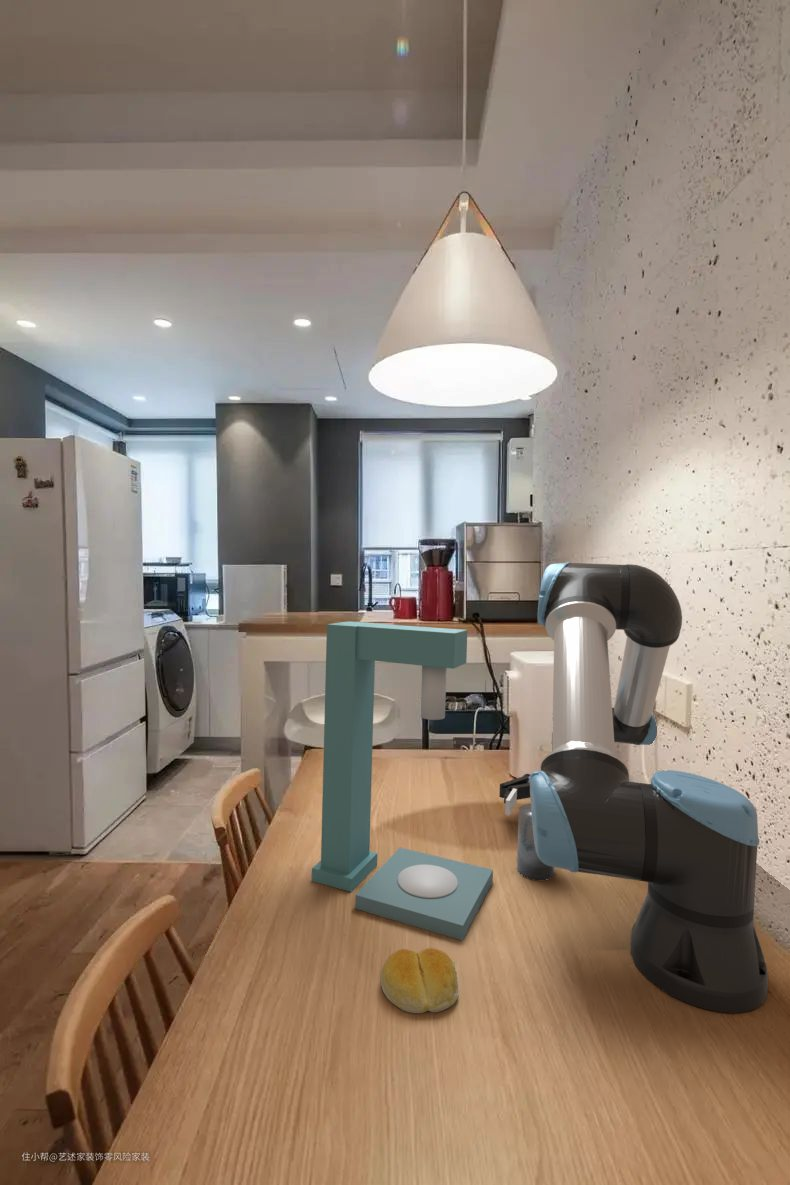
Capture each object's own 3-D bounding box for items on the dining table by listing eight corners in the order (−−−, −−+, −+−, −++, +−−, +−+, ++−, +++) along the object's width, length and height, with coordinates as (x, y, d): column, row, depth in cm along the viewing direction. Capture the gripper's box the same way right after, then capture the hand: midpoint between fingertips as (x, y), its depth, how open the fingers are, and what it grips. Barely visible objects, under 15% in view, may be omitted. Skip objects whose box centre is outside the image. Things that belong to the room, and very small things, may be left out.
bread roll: (379, 966, 70) (380, 935, 70) (452, 966, 71) (453, 934, 71) (381, 1019, 62) (382, 982, 62) (463, 1018, 63) (464, 982, 63)
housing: (560, 880, 92) (563, 806, 91) (523, 881, 91) (526, 806, 90) (546, 861, 97) (548, 791, 97) (512, 862, 97) (514, 792, 96)
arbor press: (492, 882, 90) (501, 629, 89) (462, 940, 76) (472, 638, 74) (349, 846, 101) (356, 619, 99) (299, 891, 86) (305, 626, 85)
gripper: (624, 806, 117) (619, 851, 97) (503, 784, 127) (476, 821, 107) (625, 769, 116) (621, 807, 97) (504, 751, 126) (477, 782, 107)
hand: (545, 815), depth 102 cm, fingers open, 13 cm apart
